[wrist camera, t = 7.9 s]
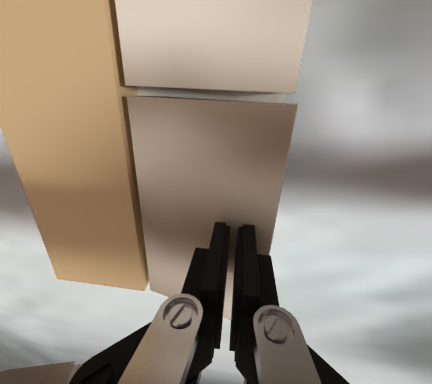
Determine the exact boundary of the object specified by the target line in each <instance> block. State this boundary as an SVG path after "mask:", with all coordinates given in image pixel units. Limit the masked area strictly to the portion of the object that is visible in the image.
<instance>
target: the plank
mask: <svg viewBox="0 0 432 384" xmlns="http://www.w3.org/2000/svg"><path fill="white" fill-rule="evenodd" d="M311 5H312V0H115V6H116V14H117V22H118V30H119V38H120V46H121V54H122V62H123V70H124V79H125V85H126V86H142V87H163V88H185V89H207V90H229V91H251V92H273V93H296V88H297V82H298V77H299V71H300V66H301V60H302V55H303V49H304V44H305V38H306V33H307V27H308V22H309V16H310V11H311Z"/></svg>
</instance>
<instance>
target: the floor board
mask: <svg viewBox="0 0 432 384" xmlns="http://www.w3.org/2000/svg"><path fill="white" fill-rule="evenodd" d="M285 95H286V93H273V92H251V91H229V90H207V89H185V88H163V87H142V86H126V85H125V79H124V70H123V62H122V54H121V46H120V38H119V30H118V22H117V14H116V6H115V0H0V126H1V129H2V131H3V134H4V137H5V139H6V142H7V145H8V147H9V150H10V153H11V156H12V158H13V161H14V164H15V166H16V169H17V172H18V174H19V177H20V180H21V182H22V185H23V188H24V191H25V193H26V196H27V199H28V201H29V204H30V207H31V209H32V212H33V215H34V218H35V220H36V223H37V226H38V228H39V231H40V234H41V236H42V239H43V242H44V244H45V247H46V250H47V253H48V255H49V258H50V261H51V263H52V266H53V269H54V271H55V274H56V277H57V279H61V280H69V281H76V282H83V283H90V284H97V285H105V286H112V287H119V288H126V289H134V290H141V291H145V289H146V287H147V285H148V283H149V273H148V265H147V257H146V249H145V241H144V233H143V225H142V217H141V208H140V200H139V192H138V184H137V176H136V168H135V160H134V152H133V143H132V135H131V127H130V119H129V111H128V103H127V96H167V97H184V98H201V99H219V100H236V101H253V102H271V103H284V101H285Z"/></svg>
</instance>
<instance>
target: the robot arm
mask: <svg viewBox="0 0 432 384" xmlns="http://www.w3.org/2000/svg"><path fill="white" fill-rule="evenodd" d="M226 224H227V223H224V222H215V225H214V229H213V233H212V238H211V242H210V246H209V249H207V248H198V247H196V248H195V251H194V254H193V257H192V260H191V263H190V266H189V269H188V272H187V276H186V279H185V282H184V285H183V288H182V291H181V294H176V295H174V296H171V297H169V298H168V299H167V300H165V301H164V303H163V304H162V305H161V306H160V308H159V310H158V312H157V314H156V315H155V317H154V319H153V321H152V322H150V323H149V324H147V325H145V326H144V327H142V328H140V329H139V330H137V331H135V332H134V333H132V334H130V335H129V336H127V337H125V338H124V339H122V340H120V341H119V342H117V343H115V344H114V345H112V346H110V347H108V348H107V349H105V350H103V351H102V352H100V353H98V354H97V355H95V356H93V357H92V358H90V359H89V360H88V361H86V362H85V363H84V364H78V365H76V362H75V361H74V362H66V363H58V364H50V365H42V366H34V367H26V368H18V369H10V370H6V371H3V372H0V384H199V381H200V377H201V371H202V370H203V369H205V368H206V367H207V366H208V365H209V364H210V363H212V358H213V355H214V348H216V349H220V341H221V331H222V320H223V310H224V299H225V289H226V278H227V267H228V254H229V241H230V229H231V226H226ZM229 351H235V360H234V362H236V367H237V369H238V370H239V371H240V373H241V374H242V375H243V377H244V384H349V383H348V382H347V381H346V380H345V379H344V378H343V377H342V376H341V375H340V374H339V373H337V372H336V371H335V370H334V369H333V368H332V367H331V366H330V365H329V364H328V363H327V362H326V361H324V360H323V359H322V358H321V357H320V356H319V355H318V354H317V353H316V352H315V351H314V350H312V349H311V348H310V347H309V346H308V345H307V344H306V341H305V339H304V336H303V334H302V331H301V328H300V326H299V324H298V322H297V320H296V319H295V317H294V316H293V315H292V314H291V313H290V312H288V311H287V310H286V309H284V308H281V307H279V302H278V296H277V290H276V284H275V278H274V272H273V266H272V261H271V256H270V255H263V254H257V247H256V235H255V226H254V225H245V224H243V227H238V235H237V246H236V256H235V266H234V279H233V296H232V313H231V331H230V348H229Z"/></svg>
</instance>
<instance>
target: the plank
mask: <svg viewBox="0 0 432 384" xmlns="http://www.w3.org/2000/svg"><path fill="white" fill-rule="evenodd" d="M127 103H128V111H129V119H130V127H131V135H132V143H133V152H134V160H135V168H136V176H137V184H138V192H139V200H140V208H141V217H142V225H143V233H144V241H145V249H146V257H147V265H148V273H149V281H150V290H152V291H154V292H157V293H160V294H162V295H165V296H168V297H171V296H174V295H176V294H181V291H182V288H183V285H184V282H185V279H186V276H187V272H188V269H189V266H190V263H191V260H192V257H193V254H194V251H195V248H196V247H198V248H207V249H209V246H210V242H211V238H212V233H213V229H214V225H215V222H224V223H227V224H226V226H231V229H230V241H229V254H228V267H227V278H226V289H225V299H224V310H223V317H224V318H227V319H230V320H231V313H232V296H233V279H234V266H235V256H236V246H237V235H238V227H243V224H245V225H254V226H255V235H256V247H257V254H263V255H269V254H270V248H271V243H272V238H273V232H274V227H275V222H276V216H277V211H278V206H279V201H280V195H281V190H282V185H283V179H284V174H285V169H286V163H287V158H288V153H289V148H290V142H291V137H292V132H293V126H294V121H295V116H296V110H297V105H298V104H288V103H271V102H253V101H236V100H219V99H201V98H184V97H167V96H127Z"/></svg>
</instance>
